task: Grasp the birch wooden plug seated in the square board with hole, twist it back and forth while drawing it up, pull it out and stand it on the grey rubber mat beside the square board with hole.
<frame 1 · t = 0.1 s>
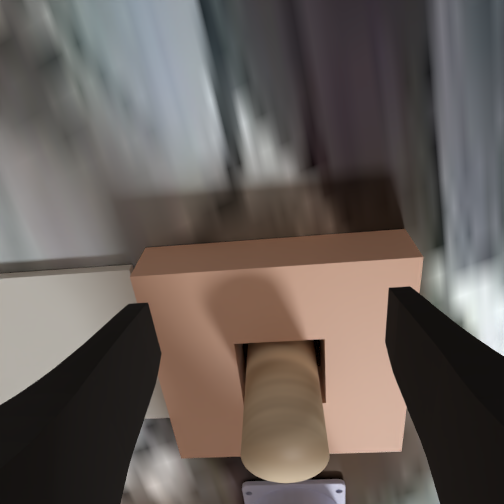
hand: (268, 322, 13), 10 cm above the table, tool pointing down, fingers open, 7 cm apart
square board with hole: (280, 338, 26), on the table
plug: (280, 338, 26), resting in square board with hole
mat: (64, 350, 27), on the table
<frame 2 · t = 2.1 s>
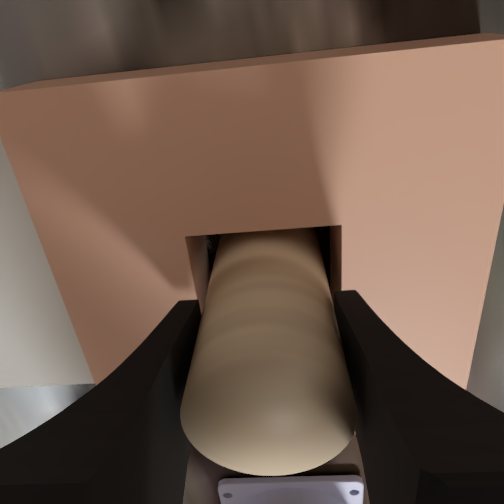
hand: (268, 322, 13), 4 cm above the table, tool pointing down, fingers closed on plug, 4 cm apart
square board with hole: (268, 252, 16), on the table
plug: (268, 251, 16), resting in square board with hole, touching gripper
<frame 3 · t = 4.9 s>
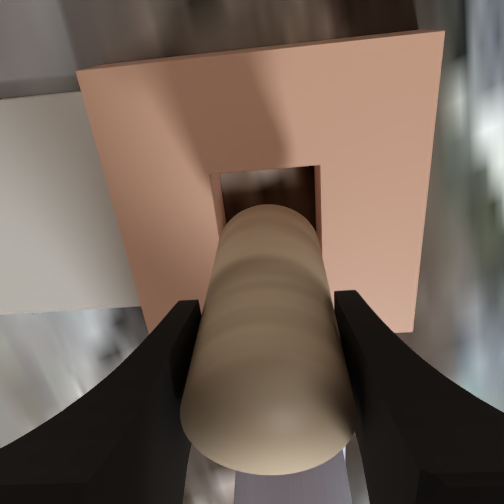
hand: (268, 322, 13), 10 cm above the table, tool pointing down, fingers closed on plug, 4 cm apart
square board with hole: (268, 196, 22), on the table
plug: (268, 251, 16), point 6 cm above the table, touching gripper
mat: (13, 217, 23), on the table
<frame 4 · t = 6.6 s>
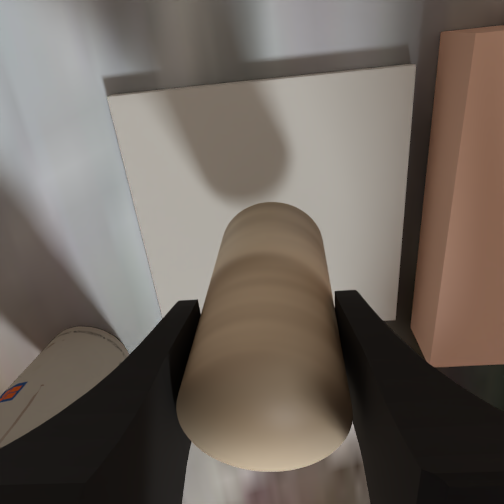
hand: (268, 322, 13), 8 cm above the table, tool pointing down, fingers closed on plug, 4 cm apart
coffee cup: (92, 354, 24), on the table
plug: (272, 249, 16), point 3 cm above the table, touching gripper
mat: (269, 217, 19), on the table
when the fingers open (6 cm above the table, at t = 7.7 s): plug stays where it is, resting on mat.
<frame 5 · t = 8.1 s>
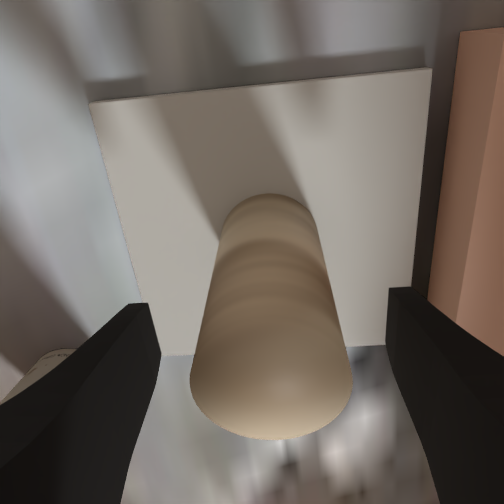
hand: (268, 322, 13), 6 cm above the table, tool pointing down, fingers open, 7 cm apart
coffee cup: (79, 378, 23), on the table
plug: (269, 238, 17), point 1 cm above the table, touching mat
mat: (268, 233, 18), on the table
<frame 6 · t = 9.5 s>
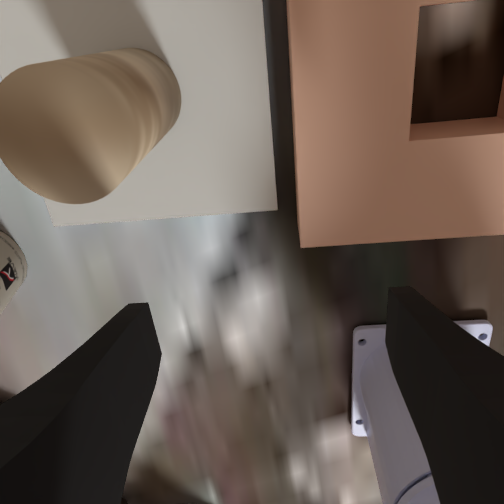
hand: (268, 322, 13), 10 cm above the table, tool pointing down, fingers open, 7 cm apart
square board with hole: (449, 65, 18), on the table
plug: (137, 96, 19), point 1 cm above the table, touching mat
mat: (140, 96, 20), on the table
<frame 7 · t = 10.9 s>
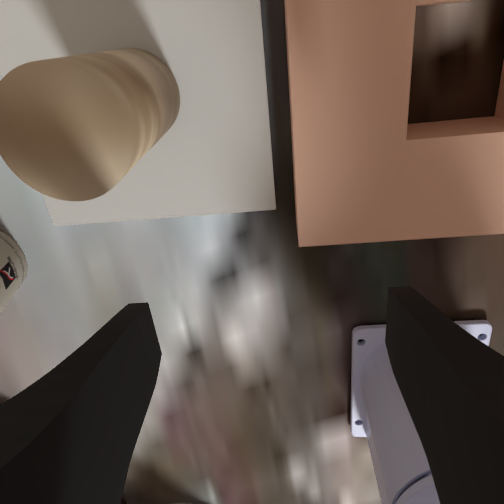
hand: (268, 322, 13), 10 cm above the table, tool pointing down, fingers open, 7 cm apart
square board with hole: (446, 65, 18), on the table
plug: (136, 96, 19), point 1 cm above the table, touching mat
mat: (139, 96, 20), on the table
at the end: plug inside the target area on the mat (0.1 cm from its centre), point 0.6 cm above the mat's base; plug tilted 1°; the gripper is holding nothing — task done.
